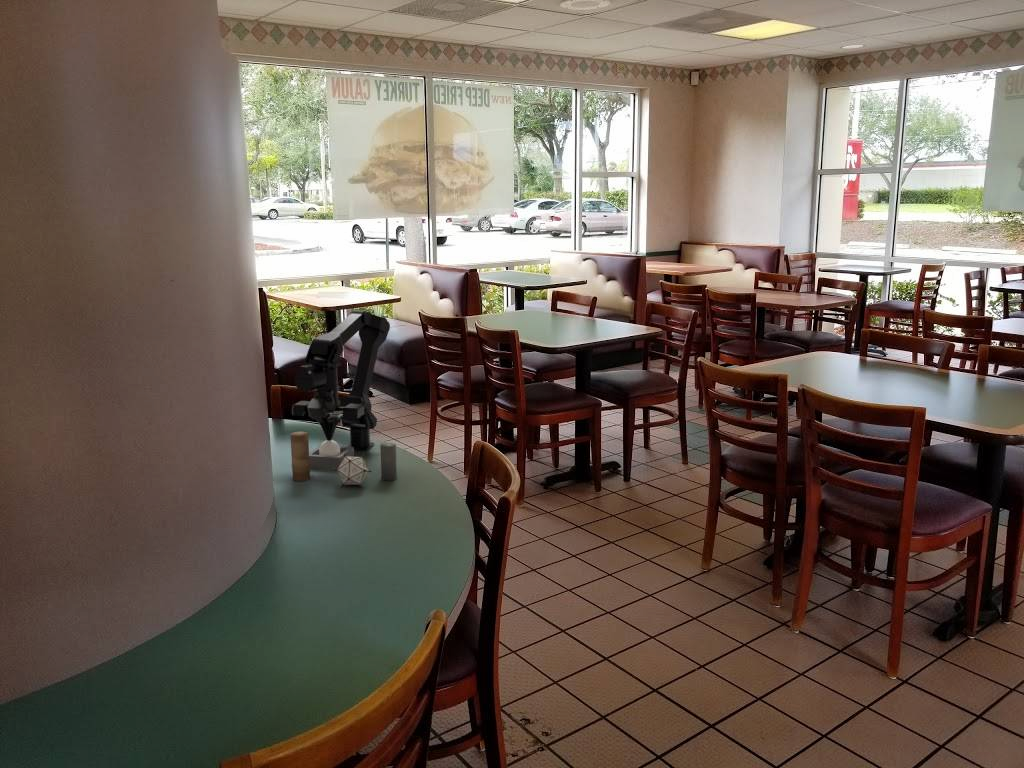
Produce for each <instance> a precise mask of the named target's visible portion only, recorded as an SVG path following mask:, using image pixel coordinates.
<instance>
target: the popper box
mask: <svg viewBox="0 0 1024 768" xmlns="http://www.w3.org/2000/svg"><path fill="white" fill-rule="evenodd" d="M320 446H321V444H319V445H318V446H316V447H315V448H313V449H312V450H311V451H309V462H310V468H316V469H317V468H319V469H330V470H334V469H338V467H339V465H340V464H341V462H342V461H343V459H344V458H345V456H344V454H346V456H355V450H354V447H347V446H345V445H343V446H341V445H339V447H340V455H339V456H326V455H319V448H320Z"/></svg>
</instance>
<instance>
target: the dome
mask: <svg viewBox="0 0 1024 768" xmlns="http://www.w3.org/2000/svg"><path fill="white" fill-rule="evenodd" d="M320 445H321V446H320V448H319V455H326V456H339V455H340V447H339V446H340V445H339V444H338V443H337V441H335V440H333V439H332V440H330V441H328V440H327V439H326V440H325V441H323V442H322V443H321V444H320Z"/></svg>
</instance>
